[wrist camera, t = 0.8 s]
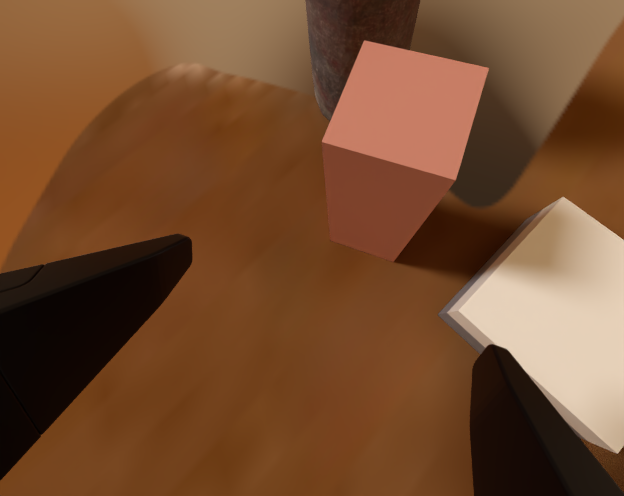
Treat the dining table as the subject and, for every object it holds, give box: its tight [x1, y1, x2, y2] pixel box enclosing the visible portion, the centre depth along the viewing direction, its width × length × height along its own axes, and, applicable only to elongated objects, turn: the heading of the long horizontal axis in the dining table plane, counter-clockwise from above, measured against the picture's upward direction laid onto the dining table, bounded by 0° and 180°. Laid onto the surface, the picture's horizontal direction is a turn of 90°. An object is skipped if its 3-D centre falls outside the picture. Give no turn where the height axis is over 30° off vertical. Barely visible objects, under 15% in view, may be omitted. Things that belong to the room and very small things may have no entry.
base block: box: [438, 197, 624, 454], centre depth 20 cm, size 10×10×4 cm
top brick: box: [322, 40, 489, 262], centre depth 18 cm, size 5×5×13 cm
